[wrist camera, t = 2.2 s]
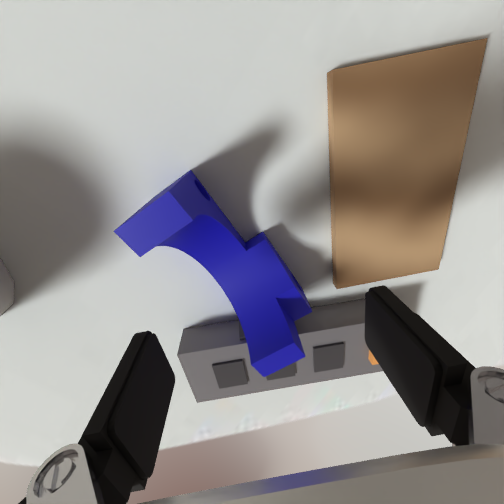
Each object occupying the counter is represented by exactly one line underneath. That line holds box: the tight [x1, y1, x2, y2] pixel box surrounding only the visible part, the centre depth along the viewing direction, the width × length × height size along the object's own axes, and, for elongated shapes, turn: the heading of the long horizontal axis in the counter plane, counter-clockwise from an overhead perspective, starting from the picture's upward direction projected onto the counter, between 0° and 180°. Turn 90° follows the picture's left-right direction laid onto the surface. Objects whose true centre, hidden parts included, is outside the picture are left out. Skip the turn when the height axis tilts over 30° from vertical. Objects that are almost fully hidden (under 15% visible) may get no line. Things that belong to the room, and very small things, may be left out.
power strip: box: [177, 299, 383, 403], centre depth 20 cm, size 18×6×4 cm, turn 98°
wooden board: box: [327, 38, 487, 289], centre depth 16 cm, size 14×8×1 cm, turn 10°
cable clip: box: [114, 170, 313, 377], centre depth 15 cm, size 12×4×6 cm, turn 33°
